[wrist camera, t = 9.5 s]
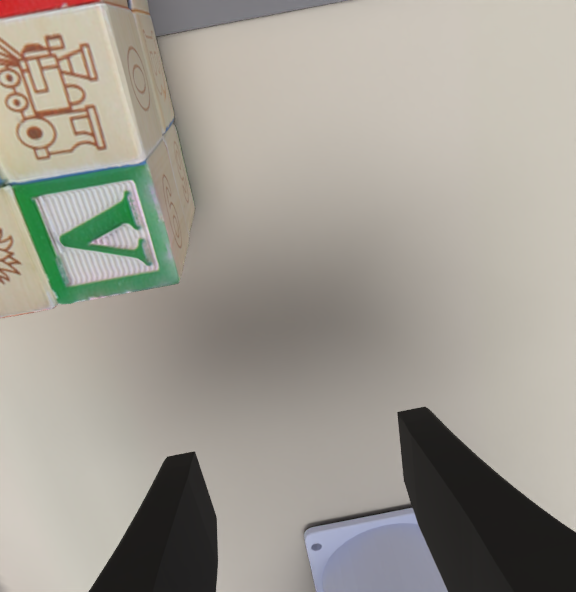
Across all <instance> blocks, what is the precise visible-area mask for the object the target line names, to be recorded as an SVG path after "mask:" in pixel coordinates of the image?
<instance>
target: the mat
mask: <svg viewBox="0 0 576 592" xmlns="http://www.w3.org/2000/svg"><path fill="white" fill-rule="evenodd" d="M147 1H148V7H149V13H150V16H151V19H152V23H153V27H154V31H155V36H156V37H157V36H162V35H167V34H173V33H178V32H183V31H188V30H194V29H199V28H204V27H210V26H215V25H220V24H225V23H231V22H236V21H241V20H247V19H252V18H257V17H263V16H268V15H273V14H278V13H284V12H289V11H294V10H300V9H305V8H310V7H315V6H321V5H326V4H331V3H337V2H342V1H347V0H147Z"/></svg>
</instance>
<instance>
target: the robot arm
mask: <svg viewBox="0 0 576 592" xmlns="http://www.w3.org/2000/svg"><path fill="white" fill-rule="evenodd" d="M398 423H399V433H400V444H401V455H402V465H403V476H404V482H405V485H406V489H407V492H408V495H409V498H410V501H411V504H412V507H413V508H408V509H403V510H398V511H392V512H387V513H382V514H377V515H372V516H367V517H362V518H357V519H352V520H346V521H341V522H336V523H331V524H326V525H321V526H316V527H311V528H309V529H308V530H306V531H305V533H304V539H305V544H306V549H307V553H308V558H309V562H310V566H311V571H312V575H313V580H314V584H315V589H316V592H576V532H574V531H573V530H571V529H570V528H568V527H567V526H565V525H564V524H562V523H561V522H560V521H558V520H557V519H555V518H554V517H553V516H551V515H550V514H548V513H547V512H546V511H544V510H543V509H542V508H540V507H539V506H538V505H536V504H535V503H534V502H532V501H531V500H530V499H529V498H527V497H526V496H525V495H523V494H522V493H521V492H520V491H518V490H517V489H516V488H514V487H513V486H512V485H511V484H510V483H508V482H507V481H506V480H505V479H503V478H502V477H501V476H500V475H499V474H498V473H496V472H495V471H494V470H493V469H492V468H491V467H489V466H488V465H487V464H486V463H485V462H484V461H483V460H481V459H480V458H479V457H478V456H477V455H476V454H475V453H474V452H472V451H471V450H470V449H469V448H468V447H467V446H466V445H465V444H464V443H463V442H462V441H461V440H460V439H458V438H457V437H456V436H455V435H454V434H453V433H452V432H451V431H450V430H449V429H448V428H447V427H446V426H445V425H444V424H443V423H442V422H441V421H440V420H439V419H438V418H437V417H436V416H435V415H434V414H433V413H432V412H431V410H429V409H428V408H426V407H421V408H416V409H411V410H406V411H401V412H398ZM316 543H317V544H316ZM217 568H218V549H217V519H216V514H215V511H214V508H213V505H212V502H211V499H210V496H209V493H208V490H207V487H206V484H205V481H204V478H203V475H202V472H201V469H200V465H199V462H198V459H197V456H196V453H195V452H189V453H184V454H179V455H174V456H169V457H167V458H166V459H165V461H164V462H163V464H162V466H161V468H160V470H159V472H158V474H157V476H156V478H155V480H154V482H153V484H152V486H151V487H150V489H149V491H148V493H147V495H146V497H145V499H144V501H143V503H142V504H141V506H140V508H139V510H138V512H137V514H136V515H135V517H134V519H133V521H132V522H131V524H130V526H129V527H128V529H127V531H126V533H125V534H124V536H123V538H122V540H121V541H120V543H119V545H118V546H117V548H116V550H115V551H114V553H113V555H112V556H111V558H110V559H109V561H108V562H107V564H106V566H105V567H104V569H103V570H102V572H101V573H100V575H99V577H98V578H97V580H96V581H95V583H94V584H93V586H92V587H91V589H90V590H89V592H216V581H217Z"/></svg>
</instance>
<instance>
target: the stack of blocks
mask: <svg viewBox="0 0 576 592" xmlns="http://www.w3.org/2000/svg"><path fill="white" fill-rule="evenodd" d="M174 118H175V117H174V111H173V107H172V103H171V98H170V94H169V90H168V86H167V81H166V77H165V73H164V69H163V65H162V60H161V56H160V52H159V48H158V44H157V40H156V36H155V31H154V27H153V23H152V19H151V16H150V13H149V7H148V1H147V0H0V318H5V317H11V316H17V315H22V314H28V313H34V312H38V311H43V310H48V309H52V308H55V307H56V306H57V305H58V304H71V303H75V302H81V301H87V300H93V299H98V298H104V297H109V296H114V295H120V294H125V293H130V292H136V291H141V290H146V289H152V288H157V287H163V286H168V285H173V284H178V283H179V281H180V279H181V275H182V271H183V266H184V261H185V258H186V253H187V250H188V246H189V234H190V229H191V226H192V221H193V216H194V212H195V205H194V200H193V196H192V192H191V188H190V184H189V180H188V176H187V172H186V168H185V164H184V159H183V155H182V150H181V146H180V141H179V137H178V134H177V130H176V127H175V125H174V123H173V121H174Z"/></svg>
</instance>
